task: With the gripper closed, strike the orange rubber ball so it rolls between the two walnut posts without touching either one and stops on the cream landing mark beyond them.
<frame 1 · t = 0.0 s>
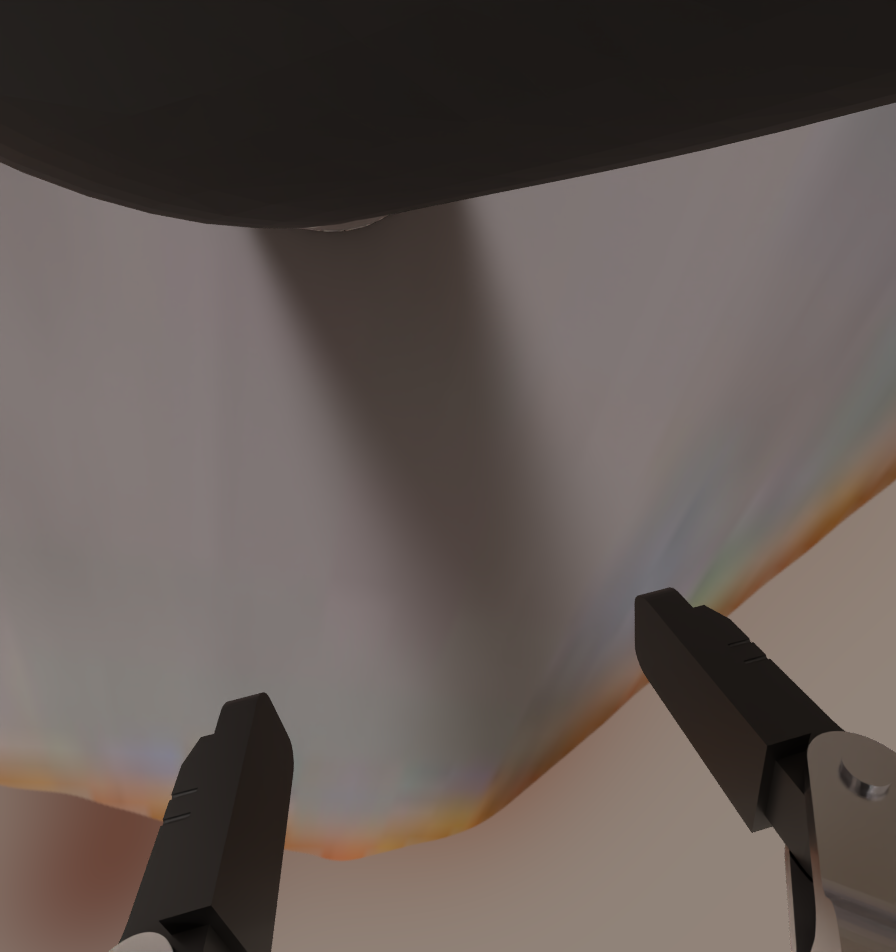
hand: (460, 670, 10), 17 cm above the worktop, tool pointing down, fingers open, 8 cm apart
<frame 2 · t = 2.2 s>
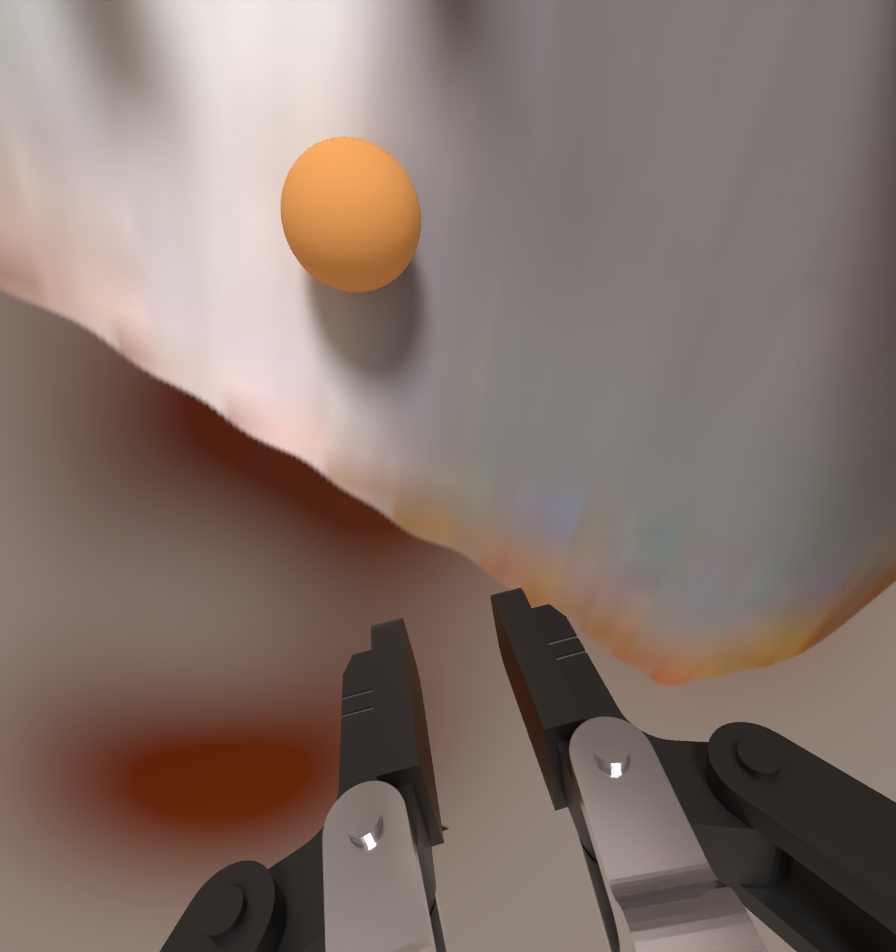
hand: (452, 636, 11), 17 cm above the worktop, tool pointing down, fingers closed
ball: (352, 219, 20), on the worktop
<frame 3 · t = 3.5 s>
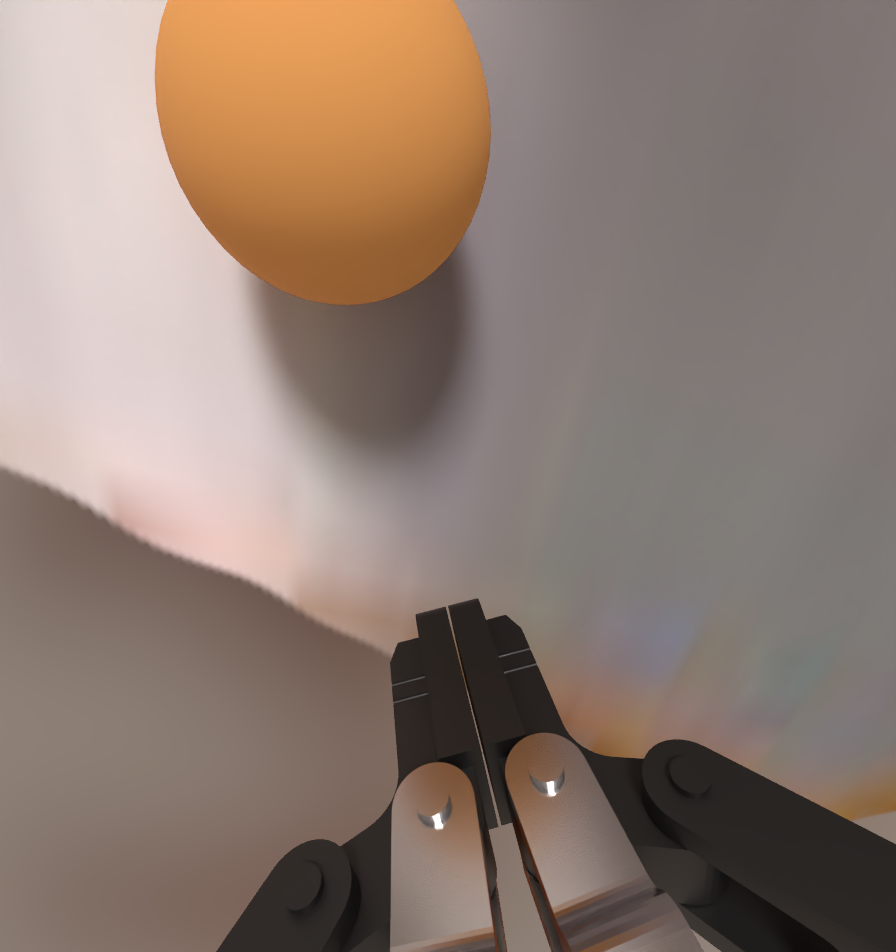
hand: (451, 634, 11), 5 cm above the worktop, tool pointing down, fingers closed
ball: (335, 141, 9), on the worktop
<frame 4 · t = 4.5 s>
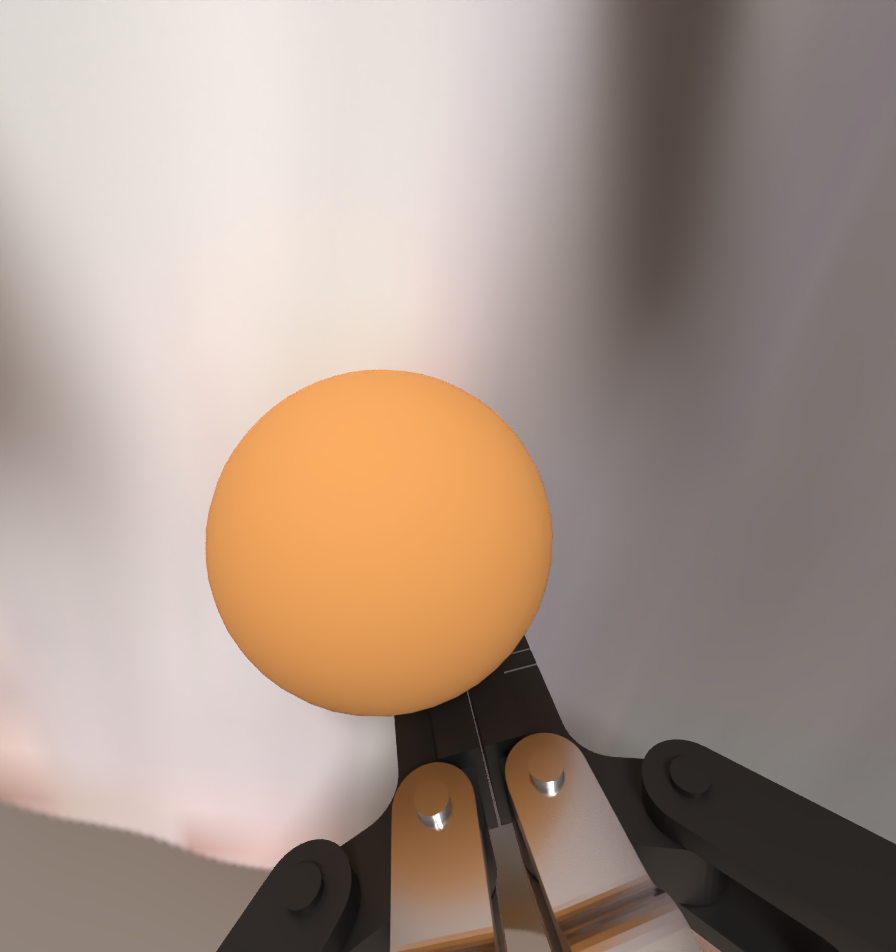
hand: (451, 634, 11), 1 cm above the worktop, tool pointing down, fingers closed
ball: (386, 535, 8), on the worktop
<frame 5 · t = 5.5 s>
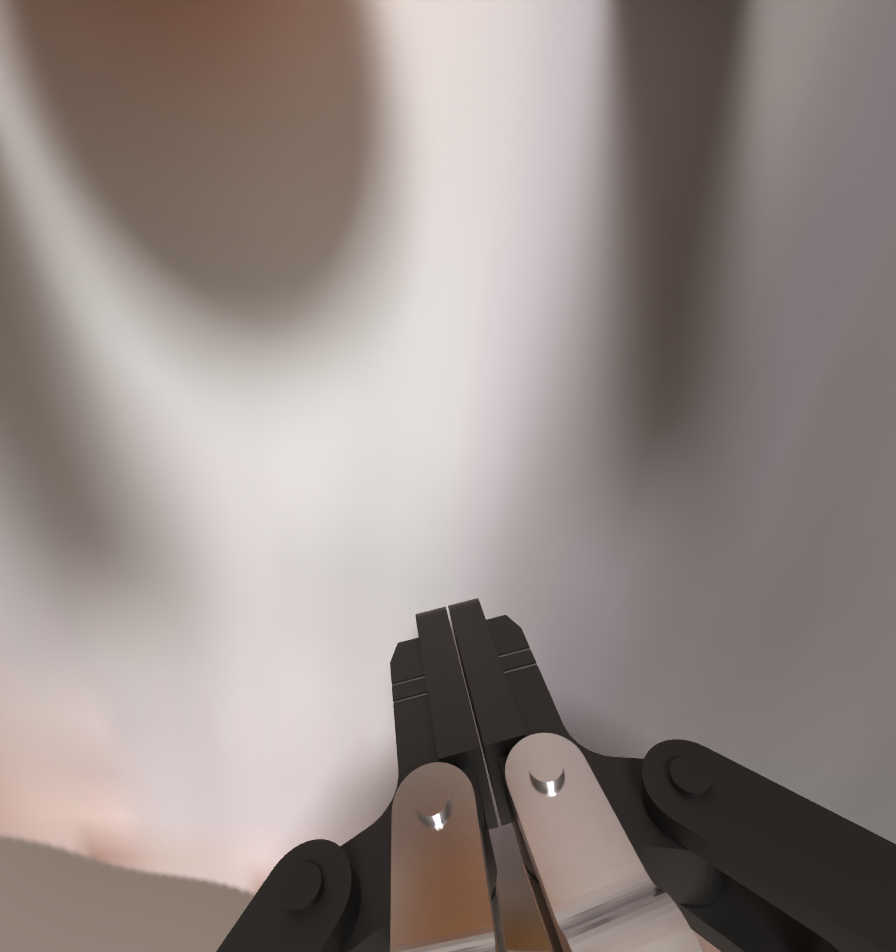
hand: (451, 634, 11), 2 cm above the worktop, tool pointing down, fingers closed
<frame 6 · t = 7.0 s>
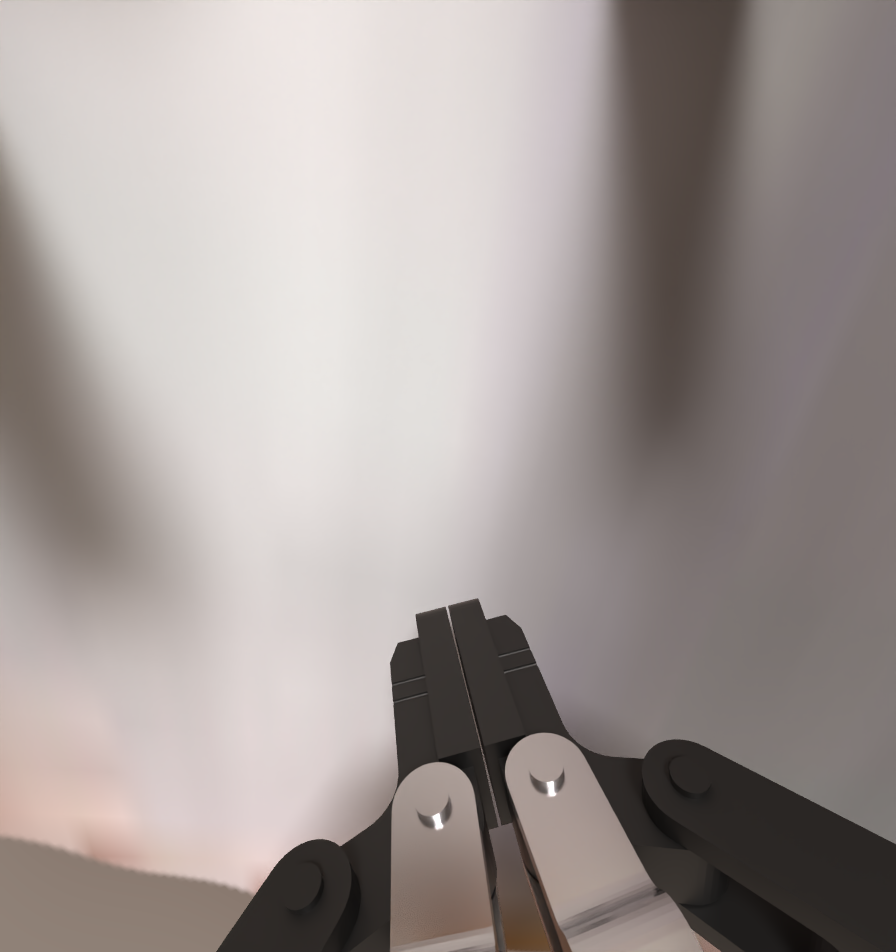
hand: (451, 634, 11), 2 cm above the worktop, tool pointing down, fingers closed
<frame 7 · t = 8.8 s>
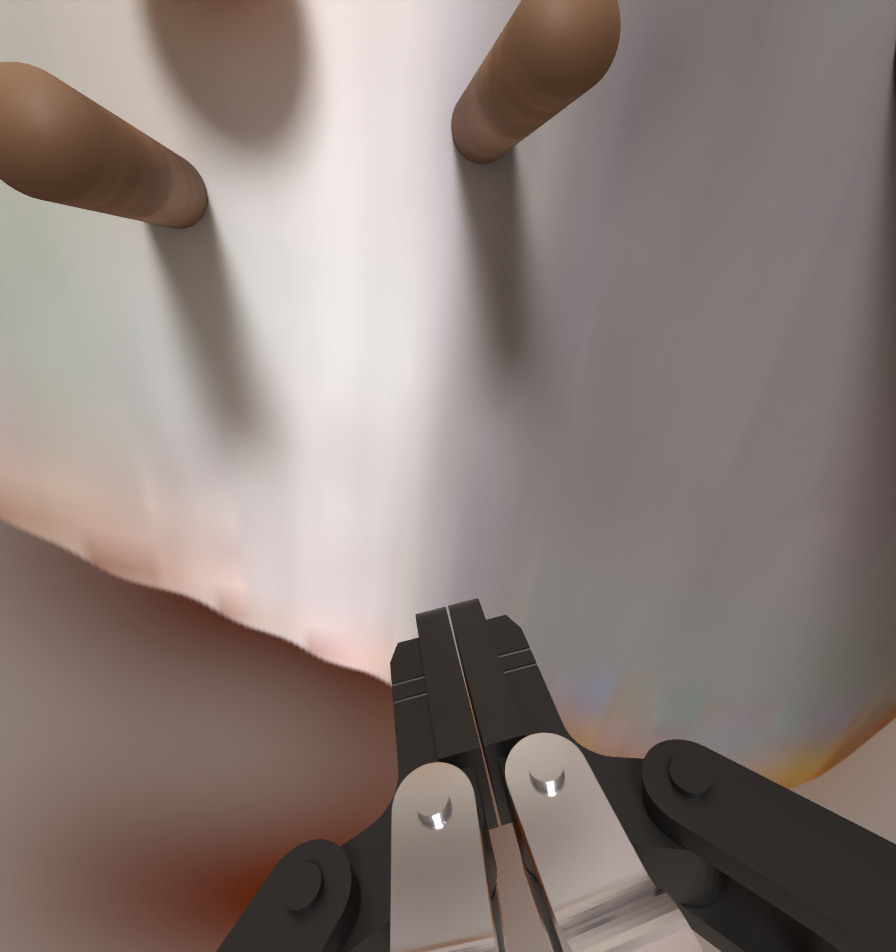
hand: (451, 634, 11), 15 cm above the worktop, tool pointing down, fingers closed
post 2: (482, 126, 20), on the worktop
post 1: (171, 191, 19), on the worktop
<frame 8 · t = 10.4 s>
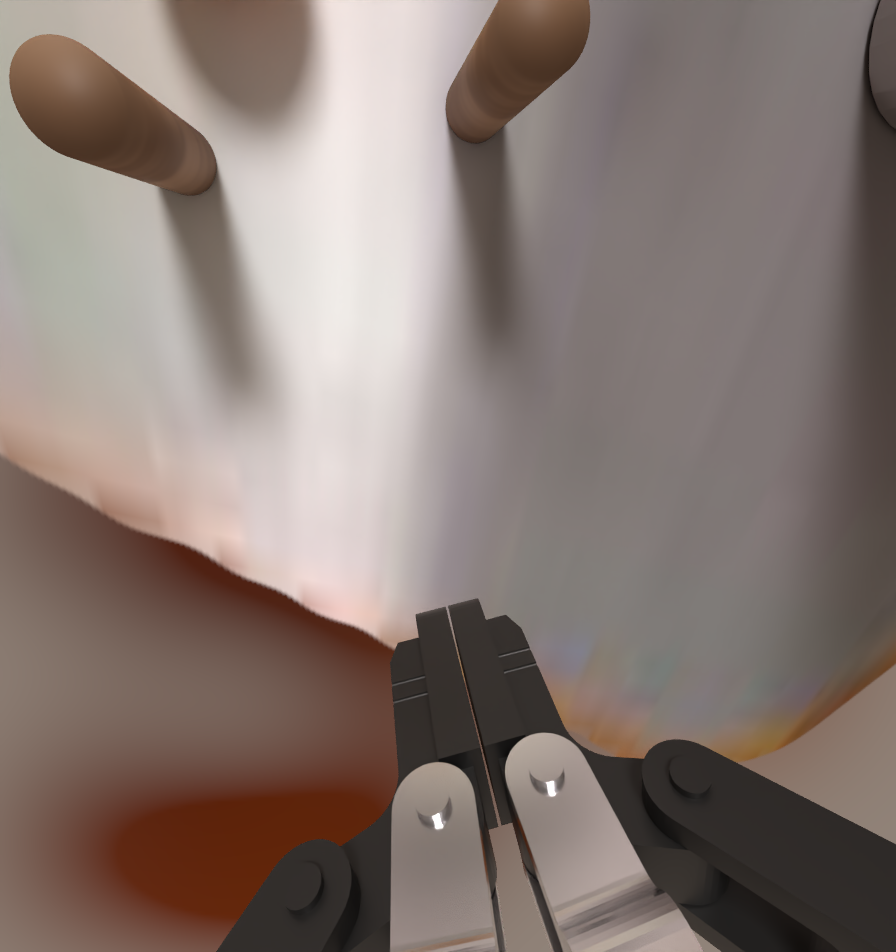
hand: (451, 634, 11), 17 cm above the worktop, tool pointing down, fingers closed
post 2: (474, 108, 21), on the worktop
post 1: (183, 159, 20), on the worktop
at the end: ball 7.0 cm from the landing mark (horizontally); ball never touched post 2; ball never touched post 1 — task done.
